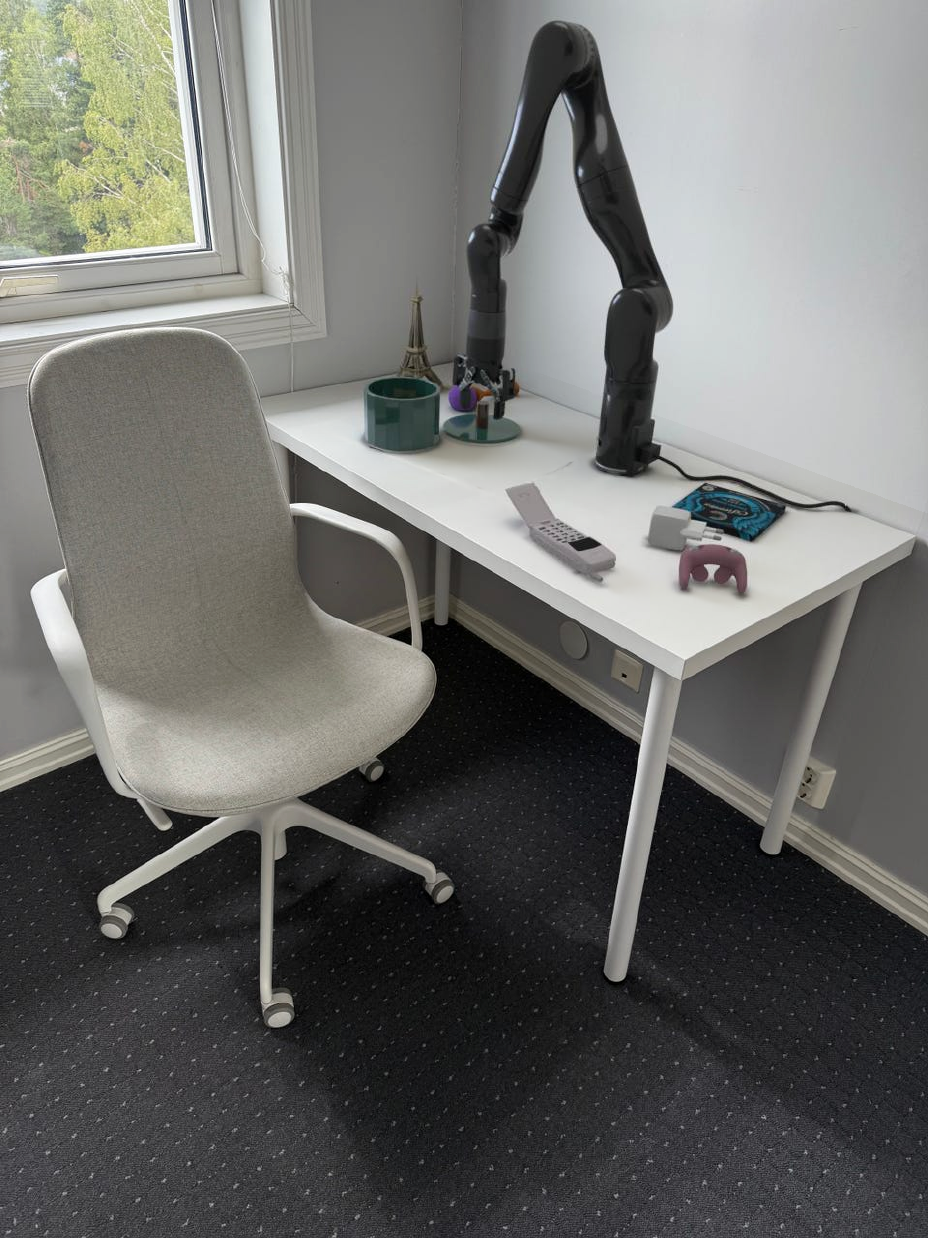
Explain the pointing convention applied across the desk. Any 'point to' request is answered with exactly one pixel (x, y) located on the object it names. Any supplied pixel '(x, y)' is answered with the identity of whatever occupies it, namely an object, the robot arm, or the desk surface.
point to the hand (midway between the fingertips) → (481, 413)
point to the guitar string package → (731, 511)
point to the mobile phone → (560, 534)
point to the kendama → (475, 396)
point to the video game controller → (716, 555)
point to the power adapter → (677, 528)
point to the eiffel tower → (417, 348)
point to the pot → (401, 413)
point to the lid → (481, 426)
